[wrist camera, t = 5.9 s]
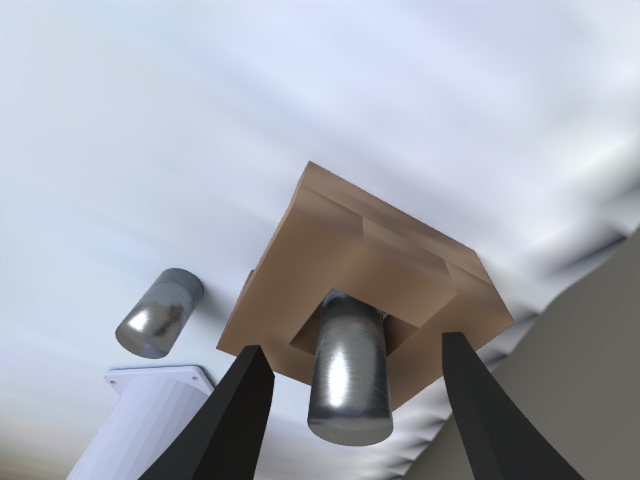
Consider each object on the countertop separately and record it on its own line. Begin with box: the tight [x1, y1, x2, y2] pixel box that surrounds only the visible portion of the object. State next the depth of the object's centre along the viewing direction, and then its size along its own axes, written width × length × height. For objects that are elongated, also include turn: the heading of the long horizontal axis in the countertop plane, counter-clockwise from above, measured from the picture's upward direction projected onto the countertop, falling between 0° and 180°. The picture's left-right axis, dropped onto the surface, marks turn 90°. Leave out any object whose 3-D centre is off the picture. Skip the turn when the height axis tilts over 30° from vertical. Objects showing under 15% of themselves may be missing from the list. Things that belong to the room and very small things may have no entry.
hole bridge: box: [216, 161, 515, 412], centre depth 14 cm, size 9×8×4 cm
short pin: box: [115, 268, 204, 359], centre depth 16 cm, size 3×3×4 cm
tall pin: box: [307, 288, 393, 446], centre depth 13 cm, size 3×3×8 cm
